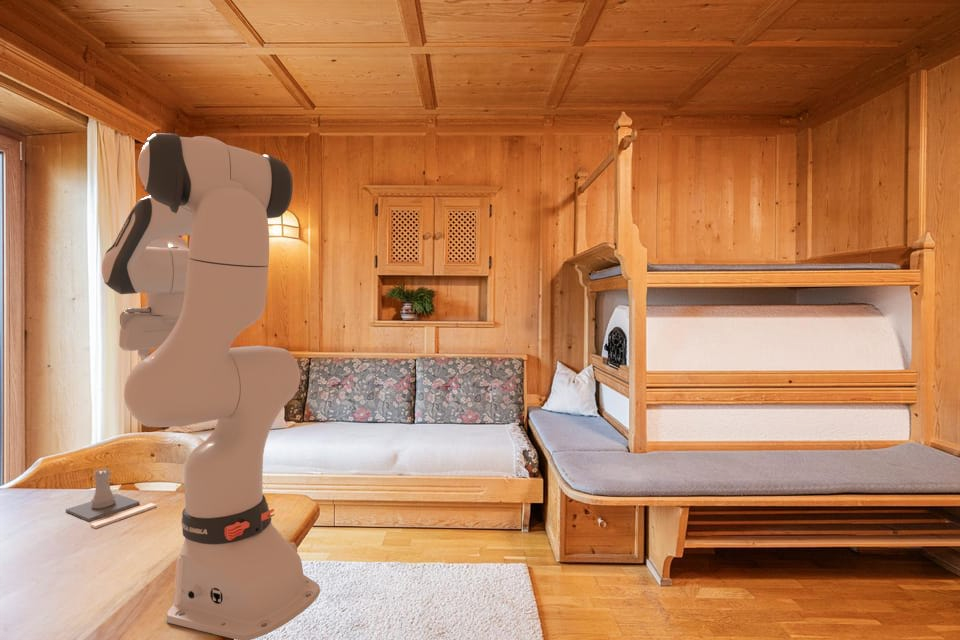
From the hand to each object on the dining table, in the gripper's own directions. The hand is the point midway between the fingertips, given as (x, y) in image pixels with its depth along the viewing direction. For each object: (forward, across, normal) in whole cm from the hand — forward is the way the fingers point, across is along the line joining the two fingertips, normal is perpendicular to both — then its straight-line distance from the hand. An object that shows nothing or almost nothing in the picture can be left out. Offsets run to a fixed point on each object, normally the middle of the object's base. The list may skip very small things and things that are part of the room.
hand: (171, 366), depth 117 cm
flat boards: (+31, -11, +6) cm, 34 cm away
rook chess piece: (+31, -11, +9) cm, 34 cm away
